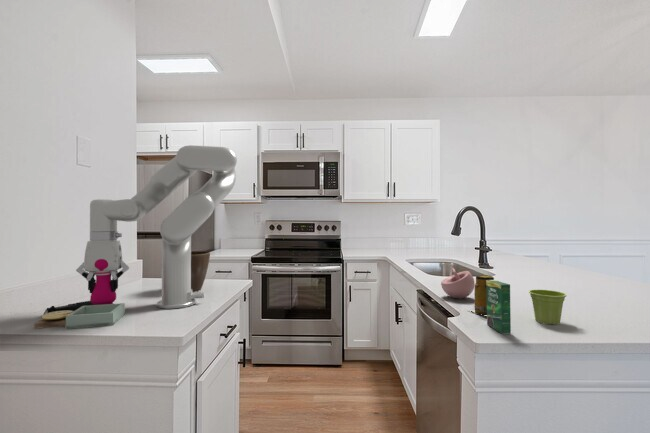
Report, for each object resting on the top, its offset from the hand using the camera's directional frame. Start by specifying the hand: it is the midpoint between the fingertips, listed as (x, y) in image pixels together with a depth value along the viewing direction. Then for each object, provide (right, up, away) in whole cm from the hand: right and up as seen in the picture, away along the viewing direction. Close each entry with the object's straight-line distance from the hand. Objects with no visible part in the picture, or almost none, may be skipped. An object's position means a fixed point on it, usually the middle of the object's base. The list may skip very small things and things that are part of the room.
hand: (103, 291), depth 111 cm
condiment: (+125, -7, -3) cm, 125 cm away
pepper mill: (0, -7, 0) cm, 7 cm away
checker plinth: (-5, -6, -12) cm, 15 cm away
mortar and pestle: (+124, -7, +18) cm, 126 cm away
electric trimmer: (-10, -7, 0) cm, 12 cm away
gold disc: (-5, -7, -12) cm, 15 cm away
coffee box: (+121, -7, -18) cm, 123 cm away
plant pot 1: (+17, -7, +31) cm, 36 cm away
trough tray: (+5, -6, -11) cm, 14 cm away
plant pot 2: (+139, -7, -11) cm, 140 cm away
